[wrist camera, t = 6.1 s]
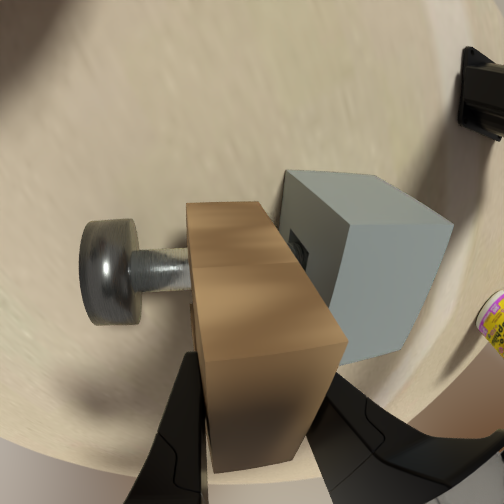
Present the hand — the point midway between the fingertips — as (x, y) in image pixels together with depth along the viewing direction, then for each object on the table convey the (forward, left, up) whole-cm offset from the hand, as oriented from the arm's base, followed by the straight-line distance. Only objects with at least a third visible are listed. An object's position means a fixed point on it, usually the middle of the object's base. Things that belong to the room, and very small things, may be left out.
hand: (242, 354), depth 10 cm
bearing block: (-7, 0, -9) cm, 11 cm away
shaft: (0, 0, -8) cm, 8 cm away
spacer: (0, 0, -5) cm, 5 cm away
